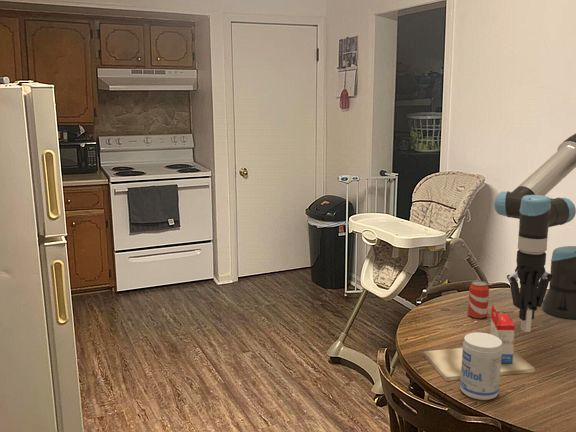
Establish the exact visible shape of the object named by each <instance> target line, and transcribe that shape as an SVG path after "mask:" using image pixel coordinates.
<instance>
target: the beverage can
mask: <svg viewBox="0 0 576 432" xmlns="http://www.w3.org/2000/svg"><path fill="white" fill-rule="evenodd" d="M489 294H490V287H489V285H488V283H487V281H483V280H473V281H471V284H470V286H469V291H468V309H467V314H468V315H469V316H470V317H471V318H473V319H481V320H482V319H484V318H486V317H487V316H488V313H489V312H488V311H489Z"/></svg>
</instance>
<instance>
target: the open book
mask: <svg viewBox="0 0 576 432" xmlns="http://www.w3.org/2000/svg"><path fill="white" fill-rule="evenodd" d="M462 352H463V347H458V348H445V349H437V350H426V351H423V354H422V356H423V357H424V358H425V359H426V360H427V362H429V364H430V365H431V366H432V368H434V369H435V370H436V372H437V373H439V375H440V376H441V377H442V378H443V379H444V380H445V381H446V382H450V381H459V380H461V366H462ZM535 372H536V368H535V367H534V366H533V365H531V363H529V362H528V361H527V360H525V359H524V358H523V357H522V356H521V355H520V354H518V353H516V351H514V350H513V363H512V364H504V363H501V369H500V377H501V376H511V375H520V374H521V375H523V374H530V373H535Z"/></svg>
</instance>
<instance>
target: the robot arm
mask: <svg viewBox="0 0 576 432" xmlns="http://www.w3.org/2000/svg"><path fill="white" fill-rule="evenodd" d="M574 169H576V133H574V134H572V135H571V136H569V137H567V138H566V139H564V141H563V142H561V143H560V144H559V145H558V147H557V151H556V152H555V153H554V154H552V155H551V156H550V157H549V158H548V159H547V160H546V161H545V162H544V163H543V164H542V165H540V166H539V167H538V168H537V169H536V170H535V171H534V172H533V173H531V174H530V176H528V177H527V178H526V179H524V181H522V182H521V183H520V184H519V185H518V186H517V187H516V188H515V189H513V190H512V191H509V190H507V191H501V192H498V194H497V195H496V196H495V199H494V203H493V205H494V207H493V208H494V210H495V212H496V213H497V214H498V215H500V216H504V217H507V218H510V219H516V220H519V221H518V222H519V223H518V226H519V227H518V237H517V249H518V250H517V252H516V259H515V260H516V268H515V269H514V272H513V273H512V274H507V275H506V279H507V280H508V282H509V287H510V292H511V297H512V298H511V299H512V304H513V306H514V307H516V308H517V309H519V314H518V317H519V318H518V319H520V330H522V331H524V332H525V333H528V332H529V333H531V329H532V320H534V319H535V311H537V310H538V308H541V309H542V310H543V311H544V312H545V313H546V314H548V315H551V316H553V317H557V318H561V319H569V320H572V319H573V320H576V245H569V246H567V245H564V246H559V247H556V248H554V249H553V251H552V253H551V259H550V273H549V272H547V271H546V267H545V265H546V262H547V261H546V260H547V253H546V251H547V250H548V236H549V235H548V233H549V228H552V227H557V226H562V225H565V224H567V223H569V222H571V221H573V220H574V218H575V216H576V206H575V205H576V204H574V202H573V200H571V199H570V198H567V197H557V198H552V197H549V196H547V194H548V193H550V192H551V190H553V189H554V188H555V187H556V186H557V185H558V184H559V183H560V182H562V180H563V179H565V178H566V177H567V176H568V175H569V174H570V173H571V172H572V171H573V170H574ZM518 281H519V282H518ZM519 285H520V286H519ZM548 286H549V287H548ZM519 287H520V288H519Z"/></svg>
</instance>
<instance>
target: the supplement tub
mask: <svg viewBox="0 0 576 432" xmlns="http://www.w3.org/2000/svg"><path fill="white" fill-rule="evenodd" d="M462 343H463V344H462V348H463V352H462V366H461V380H460V381H459V382H460V383H459V384H460V385H459V388H460V390H461V392H462V393H463V394H464V395H465V396H466V397H469V398H471V399H475V400H479V401H488V400H493V399H495V398H497V396H498V394H499V392H500V391H499V389H500V378H501V376H500V369H501V358H502V341H501V339H499V338H498V337H496V336H494V335H491V334H490V333H487V332H486V333H485V332H470V333H467V334H466V335H465V336H464V339H463V342H462Z"/></svg>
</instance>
